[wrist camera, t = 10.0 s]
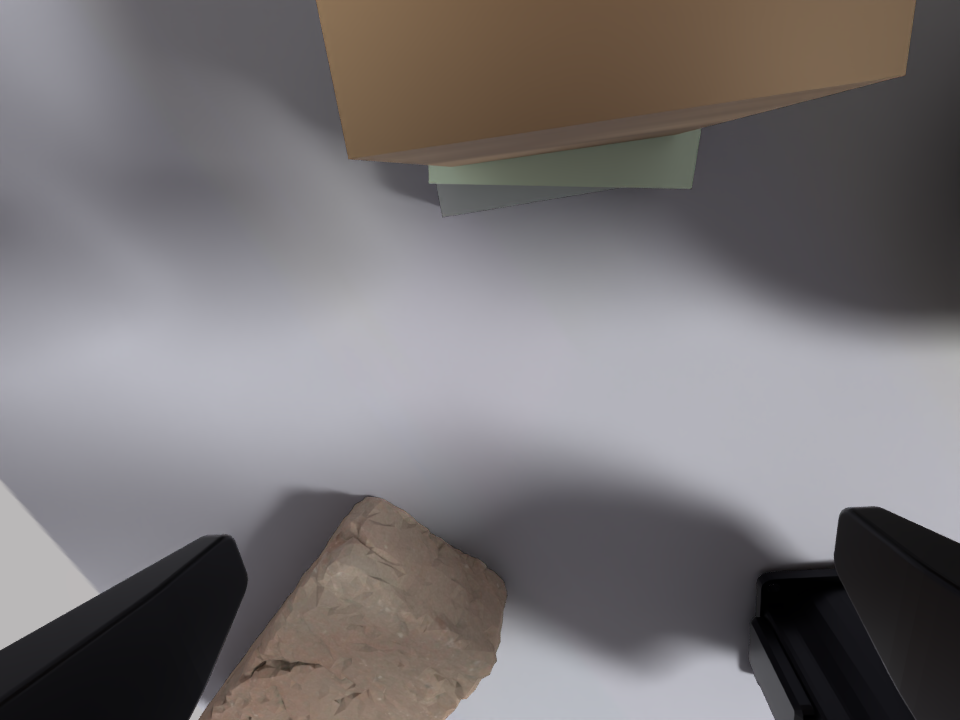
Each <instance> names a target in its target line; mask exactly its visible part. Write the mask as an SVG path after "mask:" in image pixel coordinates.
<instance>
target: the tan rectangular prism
mask: <svg viewBox="0 0 960 720" xmlns="http://www.w3.org/2000/svg"><path fill="white" fill-rule="evenodd" d="M316 3H317V8H318V13H319V18H320V23H321V28H322V33H323V37H324V42H325V47H326V52H327V57H328V62H329V67H330V71H331V76H332V81H333V86H334V91H335V96H336V101H337V105H338V110H339V115H340V120H341V125H342V130H343V135H344V139H345V144H346V149H347V154H348V159H352V160H366V161H379V162H392V163H406V164H419V165H433V166H446V167H455V166H462V165H469V164H475V163H482V162H489V161H496V160H503V159H510V158H517V157H524V156H531V155H538V154H545V153H552V152H559V151H566V150H573V149H580V148H586V147H593V146H600V145H607V144H614V143H621V142H628V141H635V140H642V139H649V138H656V137H663V136H670V135H677V134H681V133H685V132H688V131H692V130H696V129H700V128H704V127H708V126H712V125H716V124H719V123H723V122H727V121H731V120H735V119H739V118H743V117H747V116H750V115H754V114H758V113H762V112H766V111H770V110H774V109H778V108H781V107H785V106H789V105H793V104H797V103H801V102H805V101H808V100H812V99H816V98H820V97H824V96H828V95H832V94H836V93H839V92H843V91H847V90H851V89H855V88H859V87H863V86H867V85H870V84H874V83H878V82H882V81H886V80H890V79H894V78H898V77H901V76H905V74H906V67H907V60H908V53H909V46H910V39H911V32H912V25H913V18H914V12H915V5H916V0H316Z"/></svg>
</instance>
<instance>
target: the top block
mask: <svg viewBox="0 0 960 720" xmlns="http://www.w3.org/2000/svg"><path fill="white" fill-rule="evenodd" d="M700 134H701V128H700V129H696V130H692V131H688V132H685V133H681V134H677V135H670V136H663V137H656V138H649V139H642V140H635V141H628V142H621V143H614V144H607V145H600V146H593V147H586V148H580V149H573V150H566V151H559V152H552V153H545V154H538V155H531V156H524V157H517V158H510V159H503V160H496V161H489V162H482V163H475V164H469V165H462V166H455V167H446V166H433V165H428V166H429V184H474V185H523V186H571V187H619V188H668V189H692V183H693V177H694V171H695V165H696V159H697V152H698V146H699V140H700Z"/></svg>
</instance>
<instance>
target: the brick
mask: <svg viewBox="0 0 960 720" xmlns="http://www.w3.org/2000/svg"><path fill="white" fill-rule="evenodd" d="M506 598H507V591H506V587H505V584H504V582H503V580H502V579H501V578H500V577H499V576H498V575H497V574H496V573H495V572H494V571H492V570H490V569H488V568H487V567H486V564H485V563H483V562H482V561H481V560H479V559H476V558H473V557H471V556H469V555H468V554H464V553H462V552H461V551H460V550H459V549H455V548H453V547H452V546H451V545H449V544H448V543H446V542H445V541H444V540H443V539H441V538H440V537H436V536H435V535H434V534H431V533H430V531H429V530H428V529H427V528H426V527H424V526H423V525H421V524H419V523H418V522H417V521H416V520H415V519H414V518H413V517H412V516H411V515H409V514H408V513H407V512H405V511H404V510H402V509H400V508H398V507H396V506H394V505H392V504H391V503H389V502H388V501H386V500H384V499H381V498H377V497H366V498H364V500H363V501H361V502H358V503H357V504H355V506H354V507H353V509H352V510H351V512H350V513H349V514H348V515H347V516H346V517H345V518H344V519H343V521H342V522H341V524H340V525H339V527H338V528H337V530H336V531H335V533H334V534H333V535H332V537H331V538H330V540H329V541H328V543H327V546H326V547H325V549H324V550H323V552H322V553H321V555H320V556H319V558H318V559H316V561H315V562H314V563H313V564H312V565H311V567H310V568H309V569H308V570H307V571H306V572H305V573H304V574H303V576H302V577H301V579H300V581H299V583H298V585H297V586H296V588H295V590H294V591H293V593H292V594H290V595H289V596H288V598H287V599H286V601H285V602H284V604H283V605H282V607H281V608H280V609H279V610H278V612H277V613H276V614H275V615H274V617H273V618H272V619H271V620H270V622H269V623H268V624H267V626H266V628H265V629H264V630H263V632H262V633H261V634H260V635H259V636H258V638H257V639H256V640H255V642H254V643H253V644H252V646H251V647H250V649H249V650H248V652H247V653H246V655H245V656H244V657H243V659H242V660H241V662H240V663H239V664H238V665H237V666H236V668H235V669H234V670H233V672H232V673H231V674H230V676H229V677H228V679H227V680H226V681H225V683H224V684H223V686H222V687H221V688H220V690H219V691H218V693H217V694H216V695H215V697H214V698H213V700H212V701H211V702H210V703H209V704H208V706H207V707H206V709H205V710H204V712H203V713H202V715H201V716H200V718H199V720H445V719H446V718H447V717H448V716H449V715H450V714H451V713H452V712H453V711H454V710H455V709H456V708H457V706H458V704H459V702H460V700H461V699H467V698H468V697H469V696H470V695H471V694H472V693H473V692H474V690H475V689H476V687H477V686H478V684H479V682H480V681H481V679H482V678H484V677H486V676H488V675H490V672H491V670H492V668H493V665H494V664H495V663H496V662H497V658H496V652H497V649H498V647H499V644H500V633H501V628H502V622H503V610H504V607H505V604H506Z"/></svg>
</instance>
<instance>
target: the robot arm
mask: <svg viewBox="0 0 960 720" xmlns="http://www.w3.org/2000/svg"><path fill="white" fill-rule="evenodd" d="M834 563H835V569H816V570H797V571H778V572H767V573H764V574H762V575H761V576H760V577H759V578H758V580H757V596H756V617H753V619H752V620H751V622H750V644H749V663H750V665H751V667H752V669H753V672H754V676H755V679H756V681H757V683H758V685H759V686H760V687H761V690H762V692H763V694H764V696H765V698H766V701H767V703H768V705H769V707H770V710H771V712H772V714H773V716H774V719H775V720H960V543H958V542H956V541H953V540H951V539H949V538H947V537H945V536H942V535H940V534H938V533H936V532H934V531H931V530H929V529H927V528H925V527H923V526H920V525H918V524H916V523H914V522H912V521H909V520H907V519H905V518H903V517H901V516H898V515H896V514H894V513H892V512H890V511H887V510H885V509H883V508H880V507H875V506H869V507H848V508H845V509H843V510H842V511H841V513H840V515H839V520H838V527H837V535H836V543H835V551H834ZM247 581H248V578H247V572H246V569H245V566H244V564H243V561H242V558H241V556H240V553H239V550H238V547H237V545H236V542H235V540H234V539H233V538H232V537H231V536H230V535H227V534H221V535H206V536H203V537H201V538H199V539H197V540H195V541H193V542H192V543H190V544H188V545H186V546H184V547H183V548H181V549H179V550H177V551H176V552H174V553H172V554H170V555H169V556H167V557H165V558H163V559H161V560H160V561H158V562H156V563H154V564H153V565H151V566H149V567H147V568H145V569H144V570H142V571H140V572H138V573H137V574H135V575H133V576H131V577H130V578H128V579H126V580H124V581H122V582H121V583H119V584H117V585H115V586H114V587H112V588H110V589H108V590H106V591H105V592H103V593H101V594H99V595H98V596H96V597H94V598H92V599H91V600H89V601H87V602H85V603H83V604H82V605H80V606H78V607H76V608H75V609H73V610H71V611H69V612H68V613H66V614H64V615H62V616H60V617H59V618H57V619H55V620H53V621H52V622H50V623H48V624H46V625H45V626H43V627H41V628H39V629H38V630H36V631H34V632H32V633H30V634H28V635H27V636H25V637H23V638H21V639H20V640H18V641H16V642H14V643H13V644H11V645H9V646H7V647H5V648H4V649H2V650H0V720H189V719H190V717H191V715H192V713H193V711H194V709H195V707H196V705H197V703H198V701H199V699H200V697H201V695H202V693H203V691H204V689H205V687H206V685H207V682H208V680H209V678H210V676H211V673H212V671H213V669H214V666H215V664H216V661H217V659H218V657H219V654H220V652H221V649H222V647H223V645H224V642H225V640H226V637H227V635H228V632H229V630H230V628H231V625H232V623H233V620H234V618H235V616H236V613H237V611H238V608H239V606H240V603H241V601H242V599H243V596H244V594H245V591H246V588H247ZM771 584H773V585H771ZM769 585H770V586H769Z"/></svg>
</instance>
